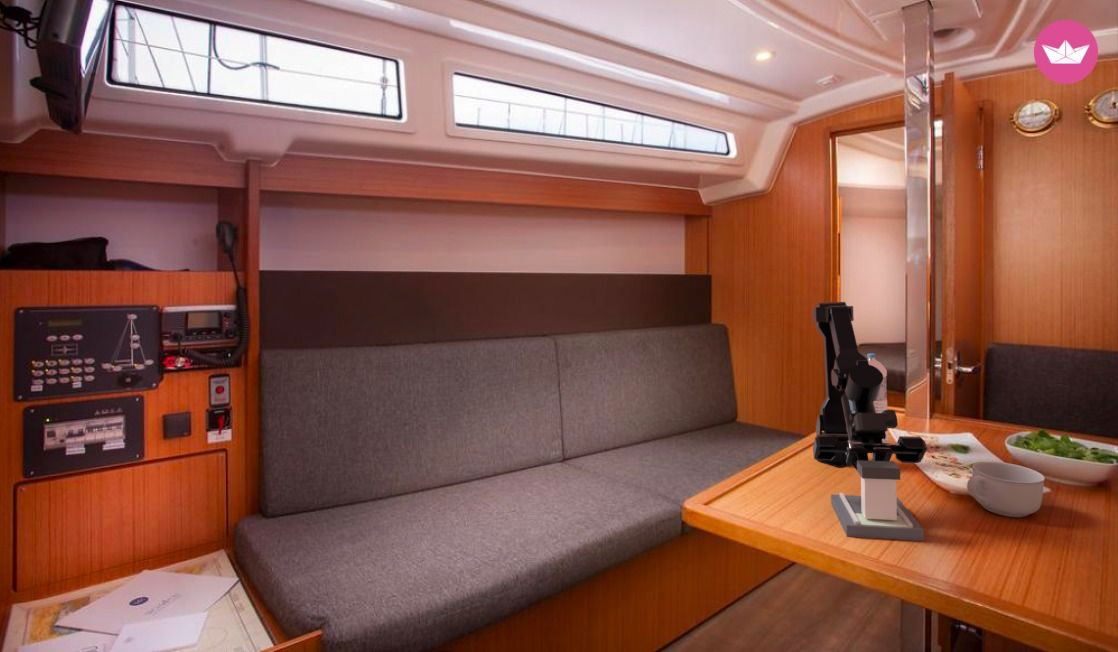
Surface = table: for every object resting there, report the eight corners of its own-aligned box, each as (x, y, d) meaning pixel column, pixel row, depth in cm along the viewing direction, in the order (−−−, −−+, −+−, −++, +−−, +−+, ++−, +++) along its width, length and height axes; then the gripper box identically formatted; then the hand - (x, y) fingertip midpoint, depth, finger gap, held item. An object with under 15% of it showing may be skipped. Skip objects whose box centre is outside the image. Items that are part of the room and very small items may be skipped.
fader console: (831, 504, 115) (830, 491, 115) (897, 507, 112) (897, 494, 112) (846, 536, 101) (846, 522, 101) (923, 541, 98) (923, 526, 97)
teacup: (1011, 498, 113) (1011, 459, 113) (1060, 521, 102) (1061, 477, 102) (942, 503, 113) (942, 463, 112) (985, 526, 102) (985, 482, 101)
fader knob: (857, 510, 106) (856, 460, 105) (894, 512, 104) (893, 461, 103) (862, 519, 102) (862, 467, 101) (900, 521, 100) (900, 468, 99)
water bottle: (852, 447, 152) (850, 354, 150) (869, 443, 155) (868, 351, 153) (876, 453, 146) (874, 356, 144) (893, 449, 148) (892, 353, 147)
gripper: (813, 394, 111) (825, 467, 101) (923, 394, 106) (946, 472, 96) (808, 424, 119) (818, 495, 109) (909, 425, 114) (929, 500, 104)
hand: (875, 490), depth 104 cm, fingers closed, pressing on fader knob
